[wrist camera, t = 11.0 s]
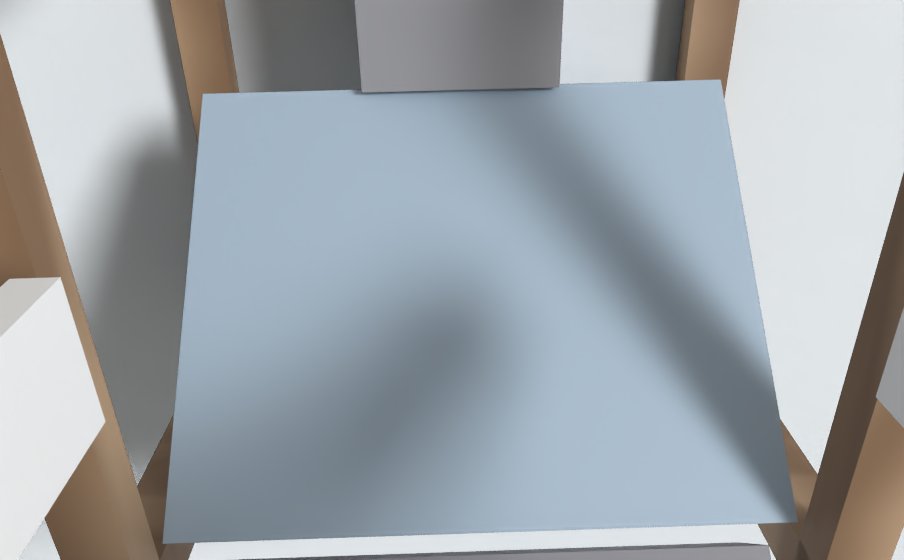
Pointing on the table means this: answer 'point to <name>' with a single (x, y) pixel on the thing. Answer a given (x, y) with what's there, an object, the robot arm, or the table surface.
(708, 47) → the frame
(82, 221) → the table surface
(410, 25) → the gray cube
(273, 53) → the table surface
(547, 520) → the plate
